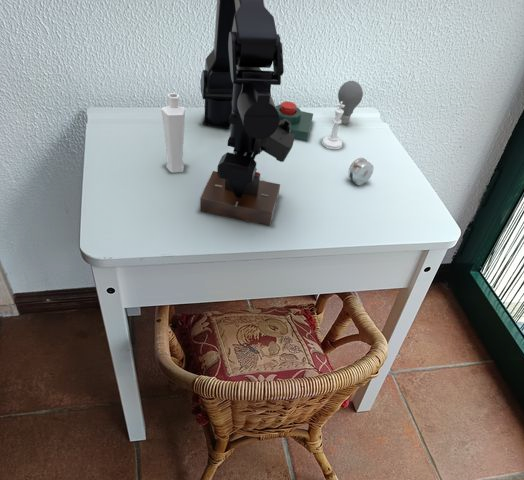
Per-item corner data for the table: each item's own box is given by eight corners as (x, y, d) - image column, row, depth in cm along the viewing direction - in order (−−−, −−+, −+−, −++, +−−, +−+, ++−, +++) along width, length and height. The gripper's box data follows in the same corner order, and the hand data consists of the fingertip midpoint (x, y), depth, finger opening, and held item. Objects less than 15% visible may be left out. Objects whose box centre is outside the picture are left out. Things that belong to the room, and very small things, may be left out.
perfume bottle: (166, 160, 105) (162, 88, 93) (186, 163, 105) (185, 91, 94) (162, 172, 102) (158, 99, 90) (183, 174, 102) (182, 102, 91)
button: (279, 114, 116) (280, 106, 115) (281, 107, 118) (282, 100, 117) (293, 117, 116) (295, 109, 115) (296, 110, 118) (297, 103, 117)
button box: (258, 131, 117) (259, 115, 114) (265, 112, 123) (267, 96, 120) (306, 141, 117) (309, 125, 114) (311, 122, 123) (314, 106, 120)
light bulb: (346, 131, 122) (356, 89, 114) (327, 121, 124) (336, 80, 116) (359, 124, 125) (370, 83, 117) (341, 114, 127) (350, 74, 120)
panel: (199, 212, 95) (199, 198, 93) (213, 182, 102) (213, 169, 99) (269, 226, 95) (271, 213, 92) (278, 196, 101) (280, 182, 99)
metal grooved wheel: (352, 187, 106) (358, 166, 103) (344, 180, 108) (350, 159, 104) (369, 182, 109) (376, 161, 105) (361, 175, 110) (367, 154, 106)
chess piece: (340, 151, 116) (351, 108, 108) (320, 147, 116) (329, 104, 108) (342, 141, 119) (353, 99, 111) (323, 137, 119) (332, 95, 111)
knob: (224, 189, 95) (225, 170, 92) (226, 185, 96) (227, 165, 93) (256, 196, 95) (259, 176, 92) (258, 191, 96) (260, 172, 93)
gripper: (286, 144, 77) (274, 225, 89) (301, 94, 89) (288, 171, 101) (218, 130, 78) (215, 213, 90) (242, 82, 89) (236, 161, 101)
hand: (241, 188), depth 95 cm, fingers open, 6 cm apart
